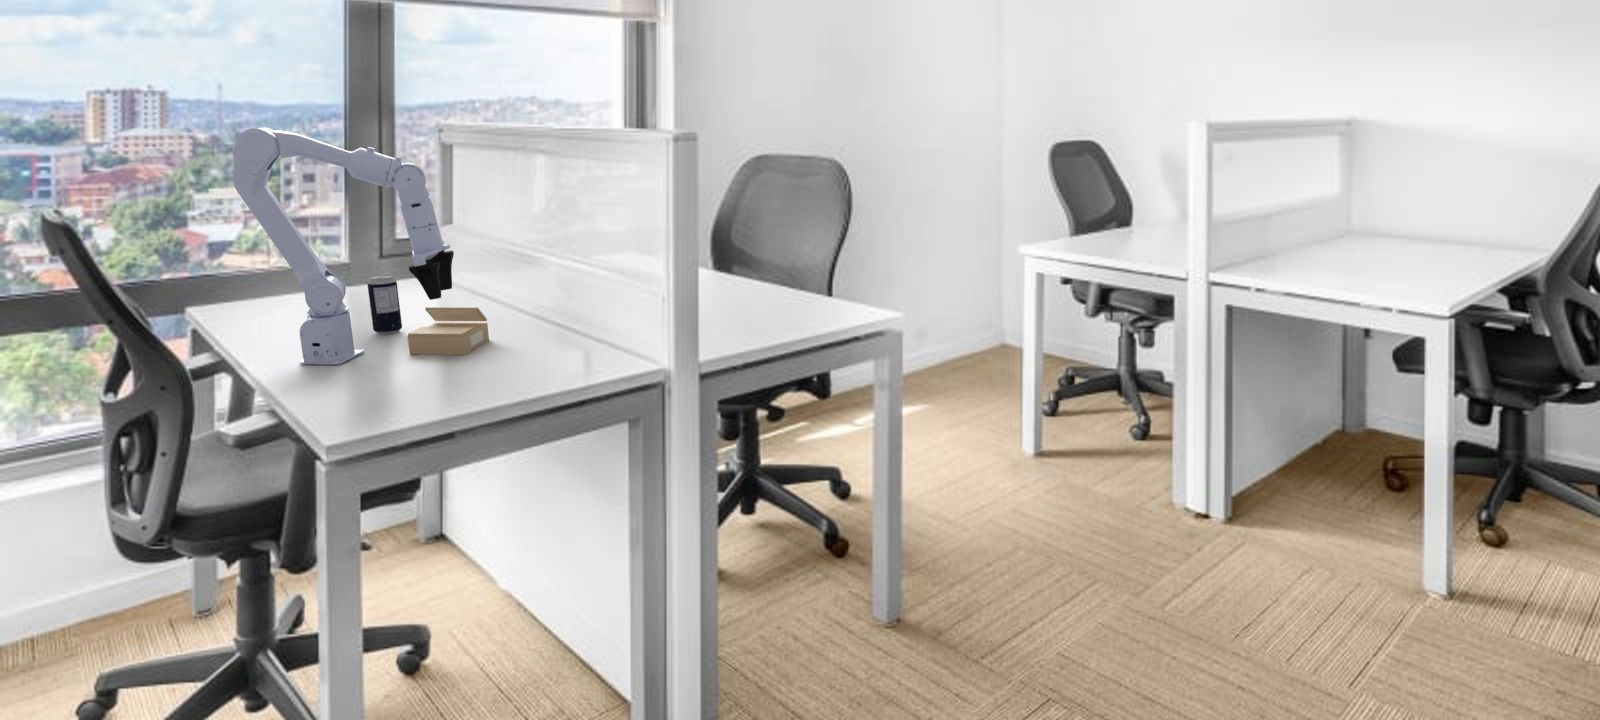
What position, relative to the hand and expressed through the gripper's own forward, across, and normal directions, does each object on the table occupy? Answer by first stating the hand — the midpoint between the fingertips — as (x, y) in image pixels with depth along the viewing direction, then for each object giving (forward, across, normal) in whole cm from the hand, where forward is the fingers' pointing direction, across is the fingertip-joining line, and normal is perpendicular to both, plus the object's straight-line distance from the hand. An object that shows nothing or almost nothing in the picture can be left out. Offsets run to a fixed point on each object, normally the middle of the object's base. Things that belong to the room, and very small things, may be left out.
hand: (441, 293), depth 197 cm
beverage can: (+9, +14, +18) cm, 25 cm away
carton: (+11, 0, +1) cm, 11 cm away
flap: (+6, +4, 0) cm, 7 cm away
